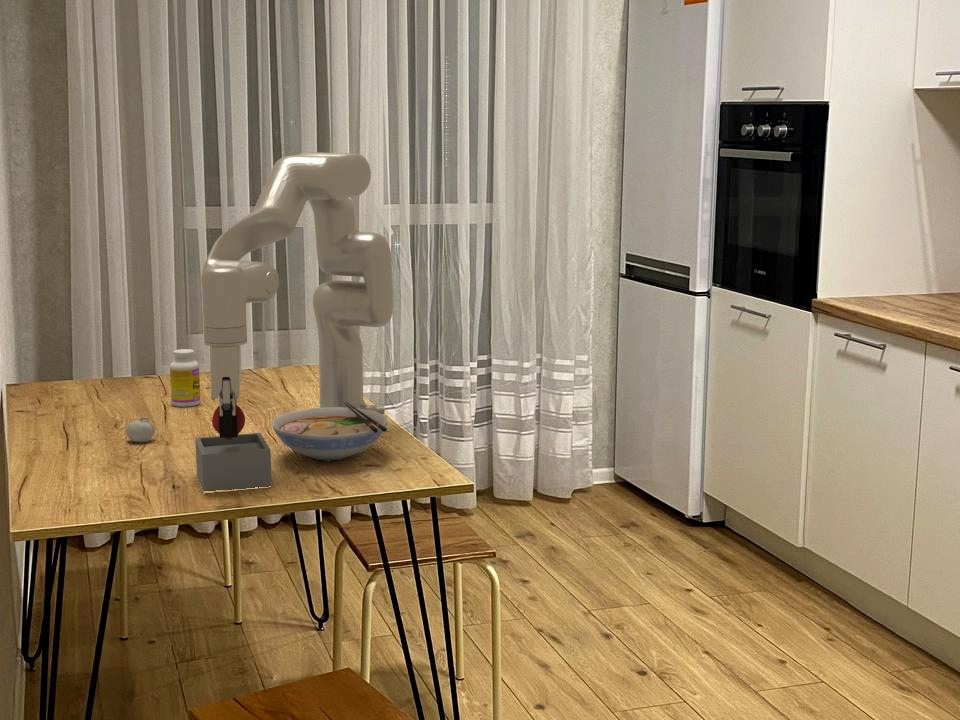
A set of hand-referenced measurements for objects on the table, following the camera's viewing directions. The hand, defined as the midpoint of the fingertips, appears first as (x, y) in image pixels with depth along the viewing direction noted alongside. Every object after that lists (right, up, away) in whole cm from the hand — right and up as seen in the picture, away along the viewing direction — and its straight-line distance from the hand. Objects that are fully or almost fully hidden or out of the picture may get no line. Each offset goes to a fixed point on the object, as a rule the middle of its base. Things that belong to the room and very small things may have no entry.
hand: (229, 431), depth 205 cm
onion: (0, -2, 0) cm, 2 cm away
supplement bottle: (-24, +2, +60) cm, 65 cm away
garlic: (-24, -4, +28) cm, 38 cm away
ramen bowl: (+16, -6, +18) cm, 25 cm away
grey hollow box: (+1, -9, +1) cm, 10 cm away
